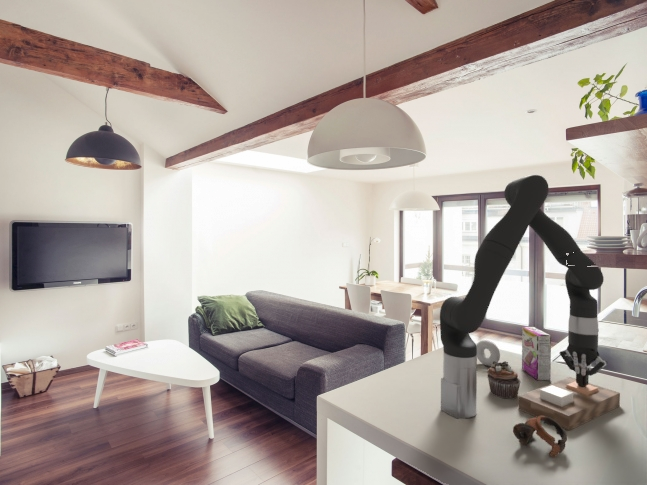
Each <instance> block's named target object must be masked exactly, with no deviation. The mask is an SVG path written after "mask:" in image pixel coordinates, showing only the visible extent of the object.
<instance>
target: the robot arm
mask: <svg viewBox="0 0 647 485" xmlns="http://www.w3.org/2000/svg"><path fill="white" fill-rule="evenodd" d="M503 194H504V199H505V201H506V202H507V205H509V206H510V207H509V209H508V210H507V212H506V213H505V214H504V215H503V217H502V218H501V219H500V220H499V221H498V222H497V223H496V224H495V225H494V226H493V227H492V228H491V229H490V230H489V231H488V233H487V234H486V235H485V237H484V238H483V240H482V242H481V244H480V245H479V247H478V249H477V251H476V254H475V257H474V264H473V266H474V268H473V269H474V270H473V271H474V274H473V275H474V276H473V281H472V284H471V286H470V288H469V290H468V291H467V294H466V296H465V297H464V298H463V297H460V296H459V297H458V296H450V297H447V298H446V299H445V300H444V301H443V302H442V304H441V307H440V311H439V328H440V329H439V330H440V333H439V334H440V341H441V344H442V347H443V348H442V349H443V350H442V351H443V359H442V360H443V363H442V364H443V365H442V366H443V374H442V375H443V376H442V377H441V379H440V410H441V411H443V412H444V413H446V414H448V415H450V416H451V417H453V418H455V419H461V418H463V419H464V418H465V419H468V418H473V417H474V416H476V415H477V392H478V391H477V386H478V385H477V383H478V382H477V380H478V379H477V376H478V375H477V373H478V372H477V371H478V370H477V368H478V358H477V346H476V345H477V343H475V341H474V340H473V339H472V337H471V335H470V334H472V333H474V332H476V331H477V330H478V329H479V328H480V326H481V325H482V324H483V322H484V320H485V317H486V314H487V312H488V309H489V307H490V304H491V302H492V300H493V297H494V294H495V292H496V291H497V290H496V289H497V288H498V286H499V284H500V281H501V280H502V277H504V276H503V275H504V274H505V272H506V270H507V269H508V266H509V264H510V262H511V261H512V259H513V257H514V256H515V253H516V250H517V249H518V247H519V245H520V243H521V241H522V239H523V237H524V236H525V233H526V232H527V230H528V228H529V227H530V228H531V229H532V230H533V231H534V232H535V233H536V234H537V236H538V237H539V238H540V240H541V241H542V242H543V243H544V245H545V246H546V247H547V248H548V250H549V251H550V253H551V254H552V256H553V257H554V258H555V260H556V261H557V263H559V264H560V265H561V266H564V267H566V268H567V270H566V272H565V275H564V276H565V277H564V280H565V282H564V283H565V287H566V291H567V294H568V298H569V318H568V327H567V328H568V331H567V332H568V334H567V336H568V338H567V339H568V340H567V341H568V345H567V347H566V349H565V350H560V351H559V355H560V356H561V359H562V360H564V363H565V364H566V365H567V367H568V368H569V370H570V371H573V372H575V379H576V383H577V384H578V386H581V387H586V386H587V385H588V383H589V376H593V375H596V374H597V373H599V371H601V370H602V369H604V368H605V367H606V366H608V361H606V360H603V359H602V357H600V353H599V350H598V349H599V330H600V329H599V319H598V312H599V311H598V308H599V307H598V301H597V299H596V298H595V297H594V296H592V295H591V292H590V291H594V290H597V289H599V288H600V287H602V285H603V283H604V274H603V272H602V270H601V268H600V267H599V266H598V267H587V266H591V265H597V264H596V263H595V262H594V261H593V260H592V259H591V258H590V257H589V256H588V255H587V254H585V253H584V252H583V251H582V250H581V248H580V246H579V245H578V244H577V243H576V241H575V239H574V238H573V236H572V235H571V233H569V231H568V230H566V229H565V228H564V227H562V226H561V225H560V224H559V223H557V222H556V221H554V220H553V219H552V218H550V216H548V215H547V214H546V213H545V212H544V211H543V210H542V209H541V207H542V206H543V205H544V203H545V201H546V200H547V197H548V194H549V184H548V181H547V180H546V178H545V177H544V176H542V175H541V174H540V175H539V174H530V175H526V176H523V177H520V178H518V179H515V180H512V181H511V182H509V183H508V184H507V185H506V186H505V189H504V192H503ZM573 252H574V253H573ZM566 253H569V255H568V256H567V255H566ZM586 255H587V256H586ZM589 258H590V259H589ZM566 260H567V263H568V264H567V265H566ZM594 263H595V264H594ZM568 265H575V266H568ZM594 362H595V366H593V367H592V364H593V363H594ZM591 367H592V368H591Z"/></svg>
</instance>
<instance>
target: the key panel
mask: <svg viewBox="0 0 647 485" xmlns="http://www.w3.org/2000/svg"><path fill="white" fill-rule="evenodd" d="M575 381H576V377H575V378H574V377H571V376H569V377H567V378H564V379H561V380H559V381H556V382H553V383H550V384H547V385H545V386H544V385H543V386H542V387H539V388H536V389H533V390H531V391H528V392H525V393H523V394H519V395H518V410H520V411H523V412H525V413H527V414H529V415H532V416H533V417H535V418H537V417H538V416H540V415H543V416H547V417H549V418H551V419H553V420H555V421H556V422H557V423H558V424H559V425H560V426H561V427H562V428H563V429H564V431H565V430H566V431H571V430H573V429H575V428H577V427H579V426H581V425H583V424H586V423H588V422H589V421H591V420H594V419H596V418H599V417H600V416H603V415H604V414H606V413H608V412H610V411H612V410H614V409H616V408H618V407H620V404H621V403H620V401H621V396H620V395H621V392H618V391H614V390H612V389H609V388H606V387H603V386H599V385H598V384H597V385H596V384H593V383H590V382H588V385H591V386H595V387H598V392H596V393H594V394H591V395H589V396H588V395H585V394H582V393H579V392H576V391H573V390H570V389H567V388H566V385H567V384H570V383H572V382H575ZM551 385H553V386H556V387H558V388H561V389H564V390H567V391H570V392H573V402H572V403H570V404H568V405H565V406H563V407H561V406H558V405H556V404H553V403H551V402H548V401H546V400H543V399H540V389H543V388H546V387H548V386H551Z"/></svg>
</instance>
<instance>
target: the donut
mask: <svg viewBox="0 0 647 485" xmlns="http://www.w3.org/2000/svg"><path fill="white" fill-rule="evenodd" d="M476 346H477V361H479V363H481V364H482V365H484V366H487V367H492V366H491V364H492V363H493V361H495V362H497V363H499V361H500V357H501V352H500V349H499V348H498V346H497V345H496V344H495V343H494V342H493V341H491V340H488V339H483V340H480V341H478V342H477V343H476ZM485 350H488V351H489V353H490V355H489V356H487V355H486V354H485Z"/></svg>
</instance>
